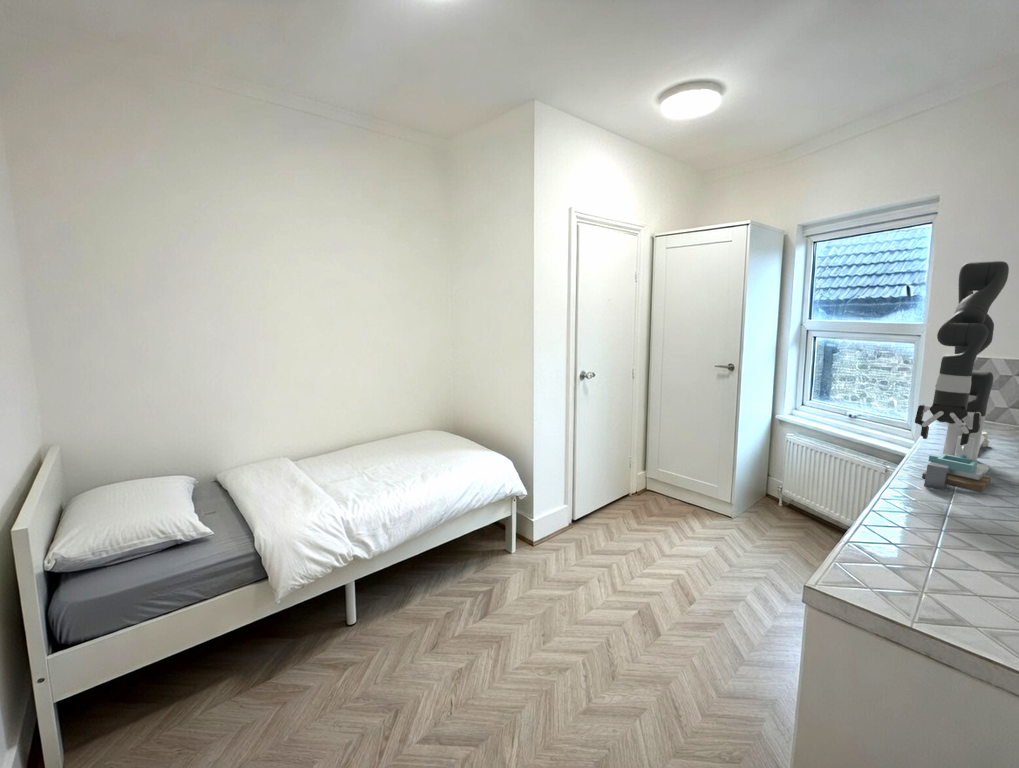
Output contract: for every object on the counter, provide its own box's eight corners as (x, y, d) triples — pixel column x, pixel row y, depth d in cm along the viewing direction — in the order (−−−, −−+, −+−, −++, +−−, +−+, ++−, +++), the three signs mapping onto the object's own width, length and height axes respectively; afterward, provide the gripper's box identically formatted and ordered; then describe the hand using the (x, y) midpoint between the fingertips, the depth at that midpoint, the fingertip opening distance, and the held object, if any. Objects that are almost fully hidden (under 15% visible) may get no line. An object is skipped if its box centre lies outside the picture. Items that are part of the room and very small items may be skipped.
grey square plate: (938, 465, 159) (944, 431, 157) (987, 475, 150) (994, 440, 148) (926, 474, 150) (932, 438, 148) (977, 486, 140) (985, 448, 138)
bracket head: (932, 459, 155) (933, 452, 154) (976, 468, 146) (977, 460, 146) (925, 463, 150) (926, 456, 149) (970, 473, 141) (972, 465, 141)
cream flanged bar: (961, 444, 178) (975, 426, 192) (958, 460, 180) (972, 441, 194) (980, 447, 174) (992, 429, 188) (977, 463, 176) (990, 444, 190)
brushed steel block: (927, 483, 146) (930, 462, 145) (946, 487, 143) (950, 466, 142) (923, 485, 144) (927, 464, 143) (943, 490, 140) (947, 468, 139)
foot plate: (932, 469, 159) (933, 465, 159) (990, 481, 148) (991, 477, 148) (921, 477, 151) (922, 473, 151) (981, 491, 140) (982, 486, 140)
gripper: (988, 392, 135) (978, 445, 138) (924, 385, 146) (916, 434, 149) (983, 394, 131) (972, 449, 133) (918, 387, 142) (909, 438, 144)
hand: (943, 441), depth 141 cm, fingers open, 8 cm apart
